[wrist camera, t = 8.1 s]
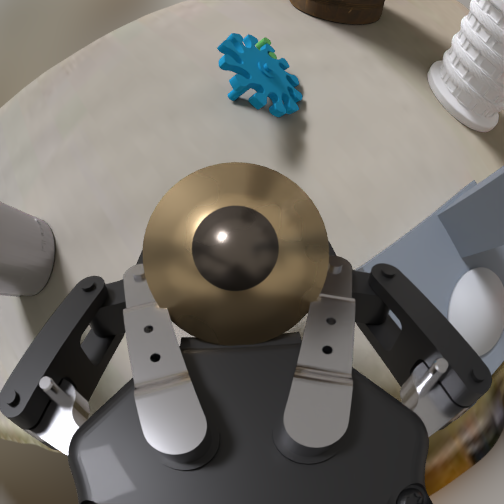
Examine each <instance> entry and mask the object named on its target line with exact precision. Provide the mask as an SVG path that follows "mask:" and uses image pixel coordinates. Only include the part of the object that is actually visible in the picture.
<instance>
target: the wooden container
mask: <svg viewBox="0 0 504 504" xmlns="http://www.w3.org/2000/svg"><path fill="white" fill-rule="evenodd" d="M384 1H385V0H290V2H291V3H292V5H293V6H295V7H296V8H297V9H299V10H301V11H303V12H305V13H307V14H309V15H312V16H315V17H318V18H321V19H325V20H329V21H334V22H339V23H346V24H369V23H373V22H375V21H377V20H379V18H380V16H381V13H382V10H383V6H384Z"/></svg>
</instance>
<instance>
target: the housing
mask: <svg viewBox="0 0 504 504" xmlns="http://www.w3.org/2000/svg"><path fill="white" fill-rule="evenodd" d="M328 264H329V243H328V237H327V232H326V229H325V226H324V223H323V220H322V218H321V216H320V214H319V211H318V210H317V208H316V206H315V205H314V203H313V202H312V200H311V199H310V198H309V197H308V195H307V194H306V193H305V192H304V191H303V190H302V189H301V188H300V187H299V186H298V185H297V184H296V183H294V182H293V181H291V180H290V179H289V178H287V177H286V176H284V175H282V174H280V173H279V172H277V171H274V170H272V169H269V168H267V167H263V166H260V165H256V164H250V163H238V162H231V163H221V164H217V165H212V166H208V167H206V168H203V169H200V170H198V171H196V172H194V173H192V174H190V175H188V176H186V177H185V178H183V179H182V180H180V181H179V182H178V183H177V184H175V185H174V186H173V187H172V188H171V189H170V190H169V191H168V192H167V193H166V194H165V195H164V196H163V198H162V199H161V200H160V202H159V203H158V205H157V206H156V208H155V210H154V211H153V213H152V215H151V217H150V220H149V222H148V225H147V228H146V232H145V236H144V241H143V267H144V272H145V277H146V280H147V283H148V287H149V289H150V291H151V293H152V295H153V297H154V299H155V301H156V302H157V304H158V305H159V307H160V308H167V309H168V312H169V316H170V319H171V321H172V322H174V323H175V324H176V325H177V326H178V327H179V328H181V329H182V330H184V331H186V332H187V333H189V334H190V335H192V336H195V337H197V338H199V339H201V340H204V341H207V342H210V343H214V344H219V345H226V346H232V345H253V344H257V343H261V342H265V341H268V340H270V339H272V338H275V337H277V336H279V335H281V334H283V333H284V332H286V331H288V330H289V329H290V328H292V327H293V326H294V325H296V324H297V323H298V322H299V321H300V320H301V319H302V318H303V317H304V316H305V315H306V314H307V313H308V312H309V307H310V302H316V300H317V298H318V296H319V295H320V293H321V290H322V288H323V285H324V283H325V280H326V275H327V271H328Z"/></svg>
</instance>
